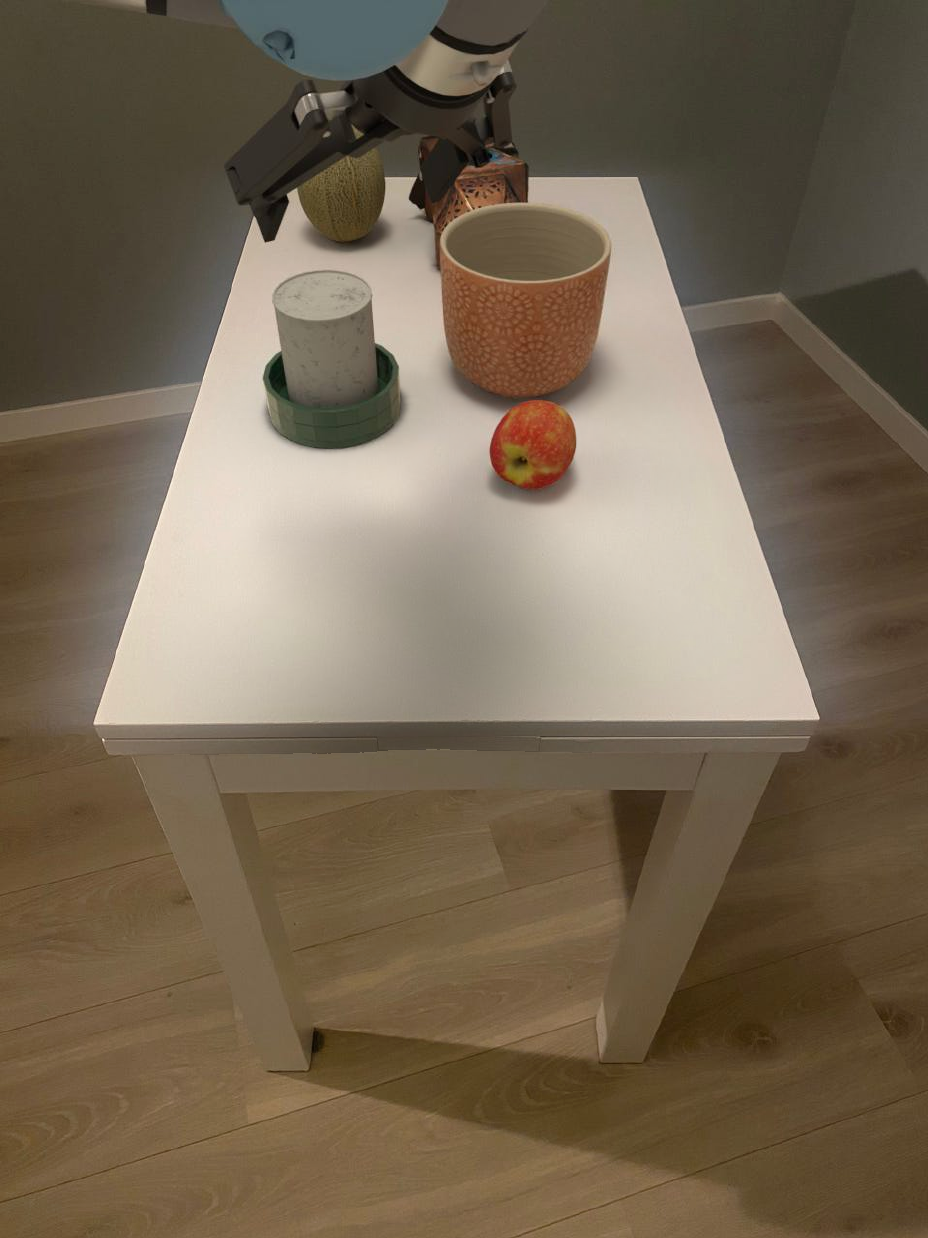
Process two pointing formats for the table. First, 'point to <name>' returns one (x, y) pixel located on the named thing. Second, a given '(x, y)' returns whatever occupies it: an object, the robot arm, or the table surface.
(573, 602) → the table surface
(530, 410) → the apple
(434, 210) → the lantern
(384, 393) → the green bowl
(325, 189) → the fruit
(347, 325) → the dirty tin can
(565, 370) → the planter
